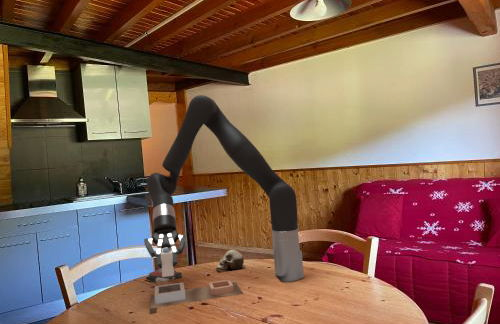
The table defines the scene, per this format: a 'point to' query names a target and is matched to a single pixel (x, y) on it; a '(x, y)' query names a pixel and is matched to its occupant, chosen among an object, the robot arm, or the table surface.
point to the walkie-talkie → (157, 277)
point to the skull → (231, 262)
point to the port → (169, 293)
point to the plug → (167, 262)
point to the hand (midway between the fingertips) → (167, 265)
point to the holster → (221, 287)
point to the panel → (195, 296)
